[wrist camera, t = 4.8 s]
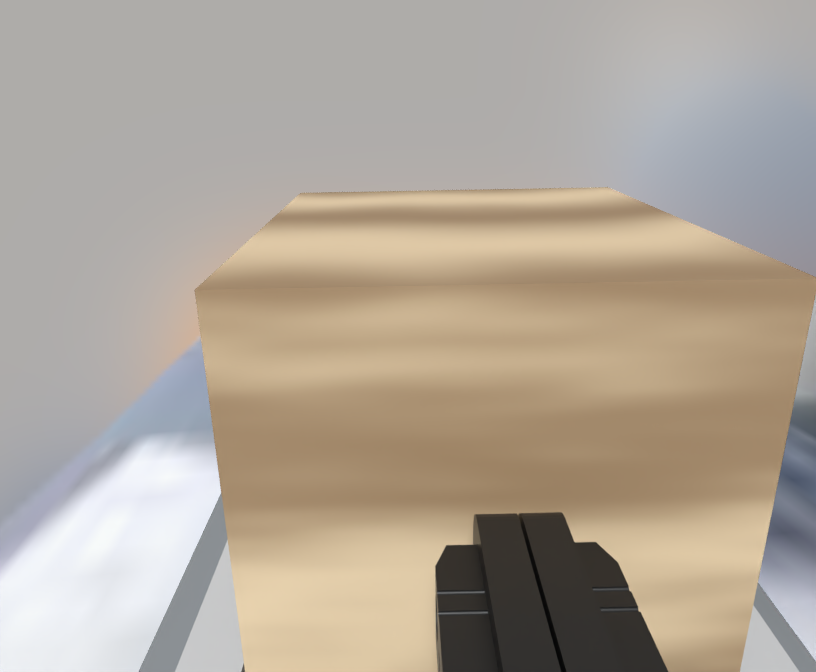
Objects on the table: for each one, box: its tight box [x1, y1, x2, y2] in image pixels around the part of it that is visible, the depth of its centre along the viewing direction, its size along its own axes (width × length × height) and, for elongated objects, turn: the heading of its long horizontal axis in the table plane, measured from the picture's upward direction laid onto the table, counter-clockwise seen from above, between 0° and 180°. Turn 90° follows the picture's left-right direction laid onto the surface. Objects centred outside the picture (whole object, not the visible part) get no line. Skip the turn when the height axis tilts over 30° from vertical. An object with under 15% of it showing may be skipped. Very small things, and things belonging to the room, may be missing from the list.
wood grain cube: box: [195, 187, 816, 672], centre depth 18 cm, size 12×10×11 cm
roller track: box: [139, 493, 816, 672], centre depth 25 cm, size 30×18×8 cm, turn 0°
